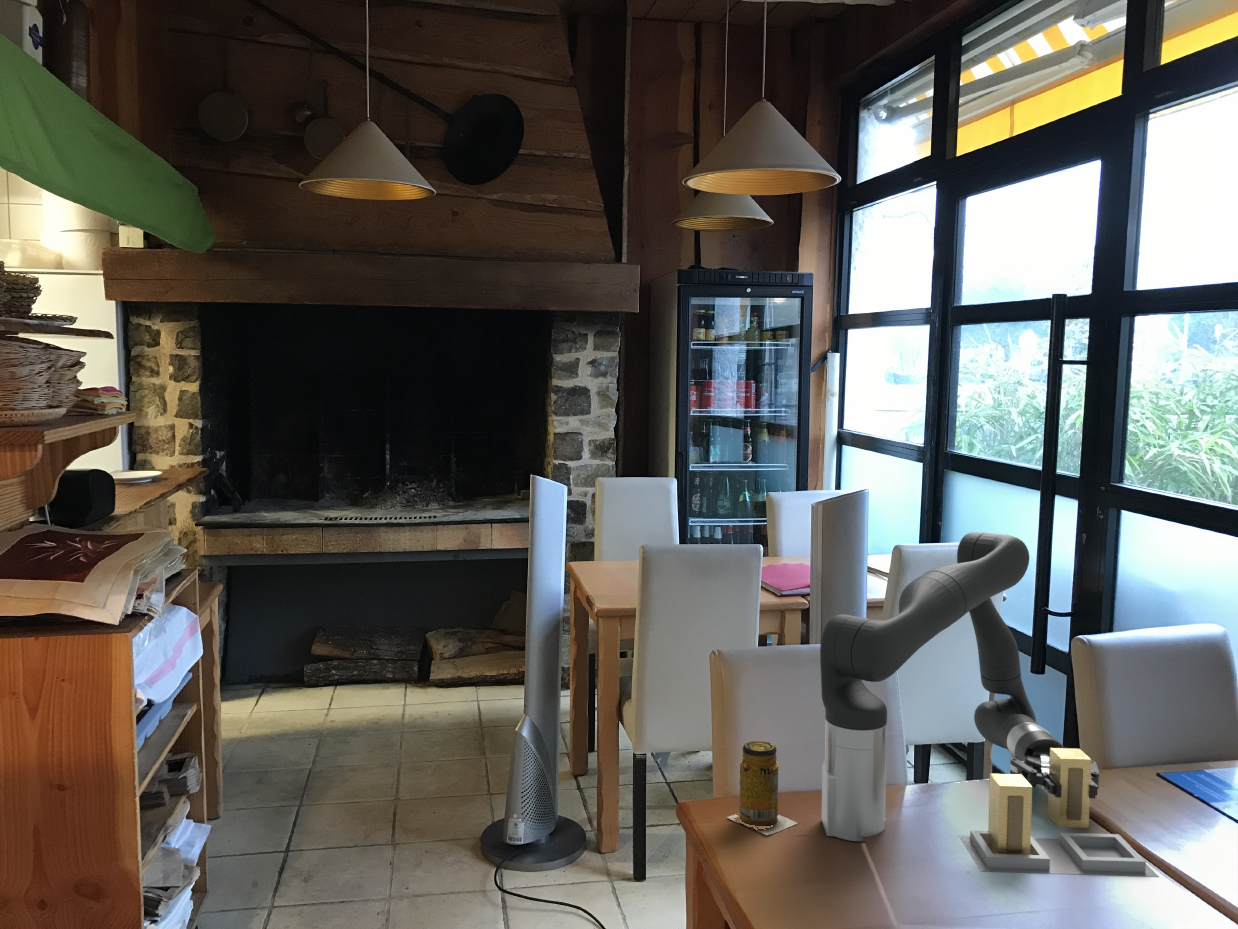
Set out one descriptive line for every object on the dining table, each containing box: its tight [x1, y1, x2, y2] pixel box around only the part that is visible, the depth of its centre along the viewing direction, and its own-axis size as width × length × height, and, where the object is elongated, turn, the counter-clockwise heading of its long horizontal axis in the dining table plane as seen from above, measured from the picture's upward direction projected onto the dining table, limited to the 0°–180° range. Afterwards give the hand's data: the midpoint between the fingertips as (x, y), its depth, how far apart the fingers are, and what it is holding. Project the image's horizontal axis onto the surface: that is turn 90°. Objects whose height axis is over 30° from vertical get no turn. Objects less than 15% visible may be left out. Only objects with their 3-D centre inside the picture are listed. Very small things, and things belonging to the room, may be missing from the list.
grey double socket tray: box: [959, 829, 1160, 878], centre depth 142 cm, size 24×11×2 cm, turn 86°
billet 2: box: [1047, 747, 1092, 829], centre depth 153 cm, size 4×5×11 cm
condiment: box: [726, 740, 798, 836], centre depth 155 cm, size 7×8×12 cm
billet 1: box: [987, 773, 1033, 855], centre depth 142 cm, size 4×5×11 cm
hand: (1076, 792), depth 150 cm, fingers closed on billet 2, 4 cm apart
